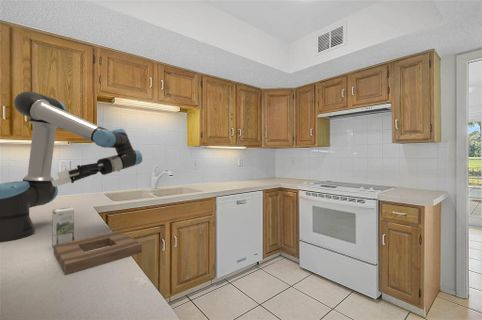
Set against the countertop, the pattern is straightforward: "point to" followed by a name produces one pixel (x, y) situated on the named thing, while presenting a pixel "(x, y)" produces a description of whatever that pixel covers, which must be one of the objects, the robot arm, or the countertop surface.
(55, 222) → the syrup box
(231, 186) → the countertop surface
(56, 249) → the hole board
